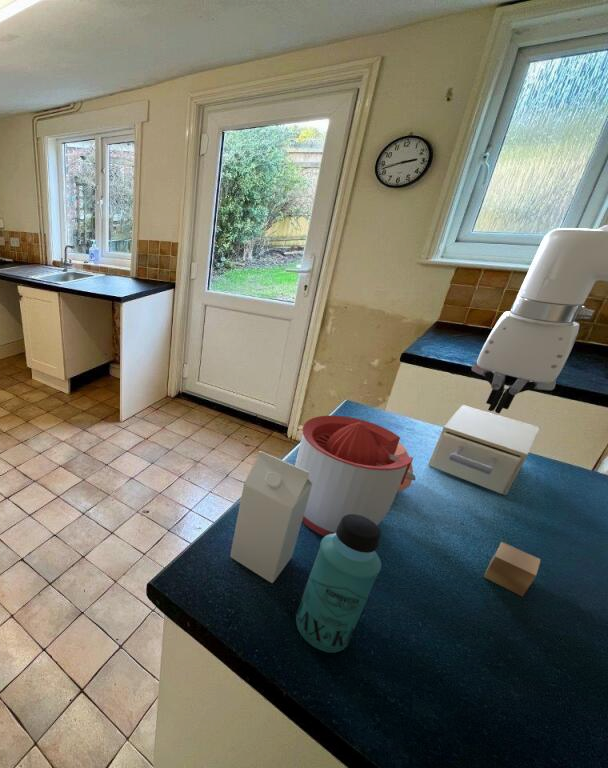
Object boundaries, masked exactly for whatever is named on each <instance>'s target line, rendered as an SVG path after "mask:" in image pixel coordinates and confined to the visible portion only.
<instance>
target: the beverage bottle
mask: <svg viewBox="0 0 608 768" xmlns="http://www.w3.org/2000/svg"><path fill="white" fill-rule="evenodd" d="M380 538H381V530H380V527H379V526H378V525H376V524H375V523H374V522H373V521H371V520H370V519H368V518H366V517H363V516H360V515H356V514H348V515H345V516H344V517H343V518H342V519H341V521H340V523H339V525H338V527H337V529H336V533H333V534H329V535H326V536H323V538H322V539H321V541H320V543H319V548H318V551H317V554H316V557H315V560H314V562H313V566H312V568H311V571H310V573H308V576H307V577H308V578H307V580H306V582H305V583H304V585H305V587H304V588H303V592H302V593H301V596H300V599H299V602H298V607H297V610H296V614H295V623H296V627H297V630H298V632H299V633H300V635H301V636H302V638H303V639H304V640H305V641H306V642H307V643H308V644H309V645H311V646H312V647H313V648H315V649H317V650H319V651H322V652H325V653H330V654H333V653H334V654H335V653H339V652H341V651H343V650H345V649H347V648H348V646H349V643H350V642H351V641H352V639H353V636H354V634H355V631H357V630H356V629H357V628H358V626H359V624H358V622H359V620H360V617H361V616H362V615H363V613H364V611H365V607H366V604H367V602H368V600H369V597H370V594H371V591H372V588H373V586H374V583H375V581H376V580H377V577H378V575H379V573H380V572H381V569H382V561H381V558H380V557H379V555H378V553H377V552H376V551H377V549H378V548H379V544H380Z"/></svg>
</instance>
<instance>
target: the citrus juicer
mask: <svg viewBox="0 0 608 768" xmlns="http://www.w3.org/2000/svg"><path fill="white" fill-rule="evenodd" d="M301 431H302V437H301V438H300V439H301V440H300V443H299V446H298V447H299V448H298V452H297V456H296V460H295V462H294V463H295V464H294V466H297V467H299V468H301V469H304V470H306V471H308V472H309V476H308V479H309V480H310V482H311V483H312V487H311V491H310V495H309V498H308V502H307V505H306V509H305V512H304V516H303V520H302V523H303V524H304V525H305V526H306V527H307V528H309V529H310V530H312V531H313V532H314V533H317V534H319V535H321V537H325V536H326V535H329V534H333V533H336V529H337V527H338V525H339V523H340V521H341V519H342V518H343V517H344V516H345V515H348V514H356V515H360V516H363V517H366V518H368V519H370V520H371V521H373V522H374V523H375V524H376V525H377V526H378V525H379V524H380V523H381V522H382V521H383V520H384V519H385V517H386V516H387V514H388V512H389V510H390V509H391V507H392V505H393V503H394V501H395V499H396V496H397V493H398V492H397V491H398V488H399V486H400V484H402V485H403V482H404V480H405V478H407V479H411V480H412V481H414V482H416V475H415V474H414V473H413V474H412V473H411V472H410V470H409V467H410V465H411V463H412V462H413V459H414V457H413V456H409V457H397V456H395V455H394V454H395V452H396V449H397V446H398V443H400V439H401V436H399V435H397V434H396V433H394V432H393V431H391V430H390V429H387V428H386V427H383V426H380V425H379V424H376V423H373V422H371V421H367V420H364V419H359V418H355V417H351V416H345V415H319V416H315V417H312V418H310V419H308V420H306V422H305V423H304V424H303V426H302V428H301Z"/></svg>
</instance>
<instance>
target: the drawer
mask: <svg viewBox="0 0 608 768" xmlns="http://www.w3.org/2000/svg"><path fill="white" fill-rule="evenodd" d="M520 459H521V458H519V457H516V454H513V453H510V452H507V451H504V450H501V449H498V448H495V447H492V446H489V445H486V444H483V443H480V442H477V441H474V440H471V439H468V438H465V437H462V436H459V435H456V434H453V433H450V434H448V433H444V435H443V437H442V439H441V442H440V444H439V446H438V449H437V451H436V453H435V456H434V458H433V460H432V463H431V465H430V467H432V468H434V469H437V470H440V471H441V472H445V473H447V474H449V475H452V476H455V477H457V478H459V479H462V480H465V481H467V482H470V483H473V484H476V485H478V486H480V487H483V488H485V489H488V490H490V491H493V492H496V493H498V494H500V495H503V494H502V493H503V491H504V489H505V487H506V485H507V483H508V482H509V480H510V478H511V476H512V474H513V472H514V470H515V469H516V467H517V465H518V463H519V461H520Z"/></svg>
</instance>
